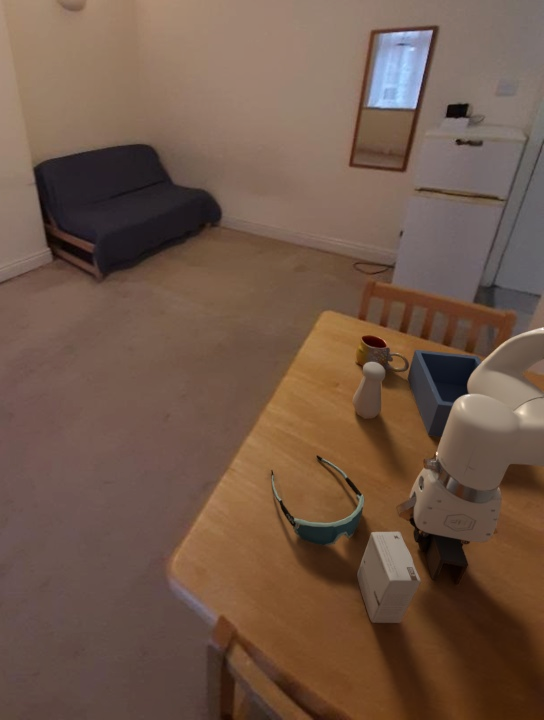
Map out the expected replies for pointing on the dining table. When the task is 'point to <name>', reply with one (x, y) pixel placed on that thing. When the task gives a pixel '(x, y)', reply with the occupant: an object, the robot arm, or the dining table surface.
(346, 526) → the sunglasses
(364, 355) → the mug
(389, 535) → the cosmetic box
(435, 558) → the black channel
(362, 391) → the salt shaker
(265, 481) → the dining table surface
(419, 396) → the box
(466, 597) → the dining table surface
